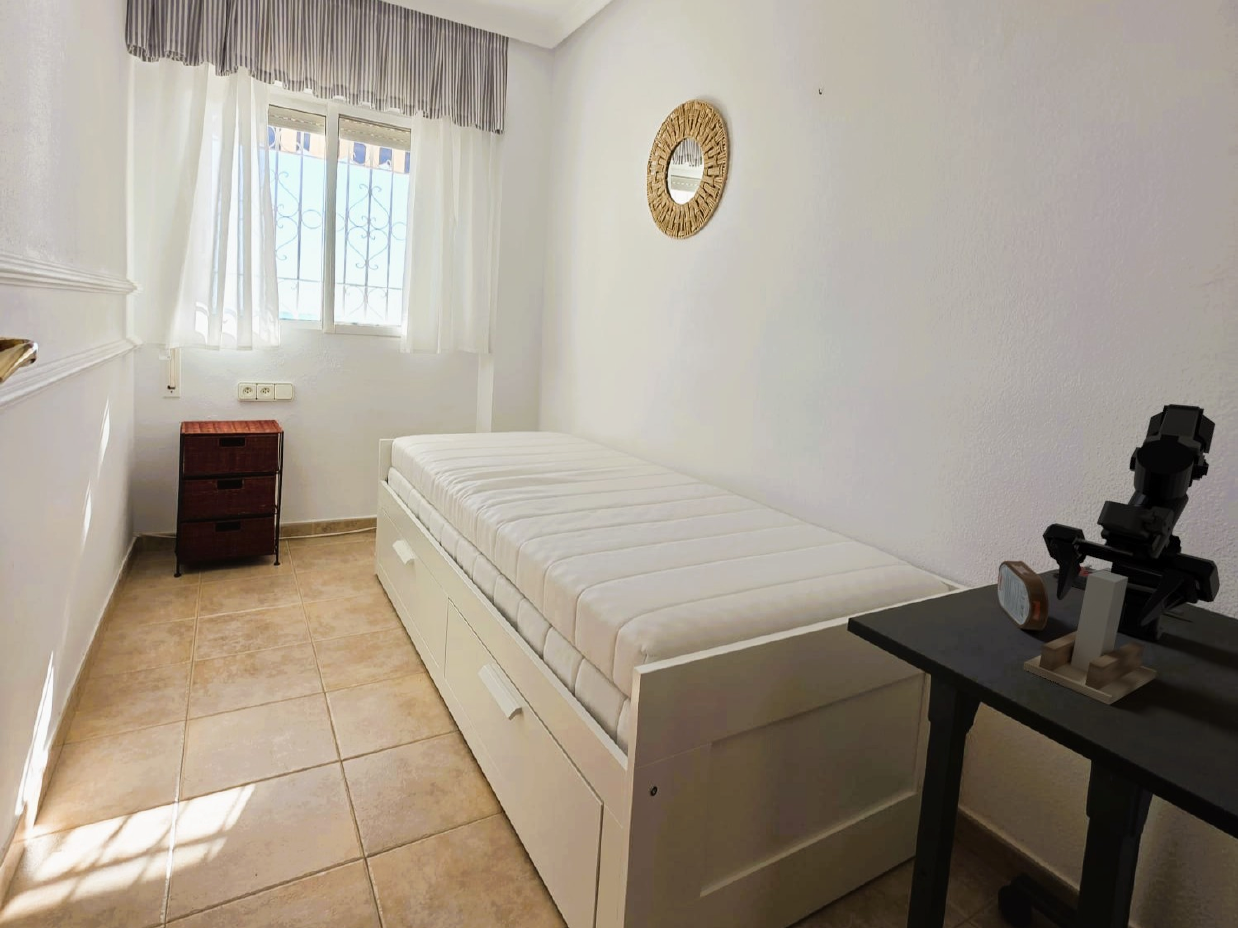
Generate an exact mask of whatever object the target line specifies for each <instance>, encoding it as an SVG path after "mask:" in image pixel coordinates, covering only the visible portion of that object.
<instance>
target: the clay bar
mask: <svg viewBox="0 0 1238 928" xmlns="http://www.w3.org/2000/svg"><path fill="white" fill-rule="evenodd" d="M1127 581H1128V577H1125V576H1121V575H1118V574H1114V573H1111V572H1107V571H1104V570H1101V571H1098V572H1095V573H1092V574H1089V575H1088V579H1087V584H1086V589H1085V590H1084V594H1083V600H1082V605H1081V611H1080V615H1079V621H1078V625H1077V630H1076V631H1077V635H1076V640H1075V645H1074V651H1073V656H1072V661H1071V665H1072V666H1074V667H1077V668H1079V669H1082V670H1084V671H1087V672H1088V667H1089V663H1090V662H1092V661H1094V660H1096V659H1098V658H1100V657H1102V656H1104V655H1106V654H1108V653H1110V652H1112V651H1114V647H1115V642H1116V638H1117V634H1118V631H1117V629H1118V625H1119V620H1120V615H1121V610H1122V605H1123V600H1124V595H1125V591H1126V586H1127Z"/></svg>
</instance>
